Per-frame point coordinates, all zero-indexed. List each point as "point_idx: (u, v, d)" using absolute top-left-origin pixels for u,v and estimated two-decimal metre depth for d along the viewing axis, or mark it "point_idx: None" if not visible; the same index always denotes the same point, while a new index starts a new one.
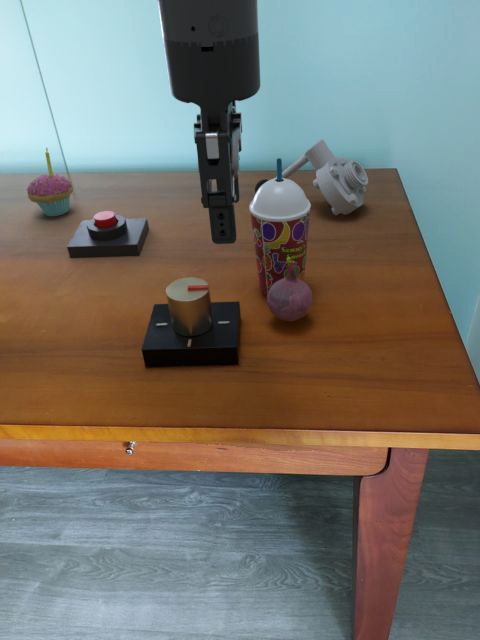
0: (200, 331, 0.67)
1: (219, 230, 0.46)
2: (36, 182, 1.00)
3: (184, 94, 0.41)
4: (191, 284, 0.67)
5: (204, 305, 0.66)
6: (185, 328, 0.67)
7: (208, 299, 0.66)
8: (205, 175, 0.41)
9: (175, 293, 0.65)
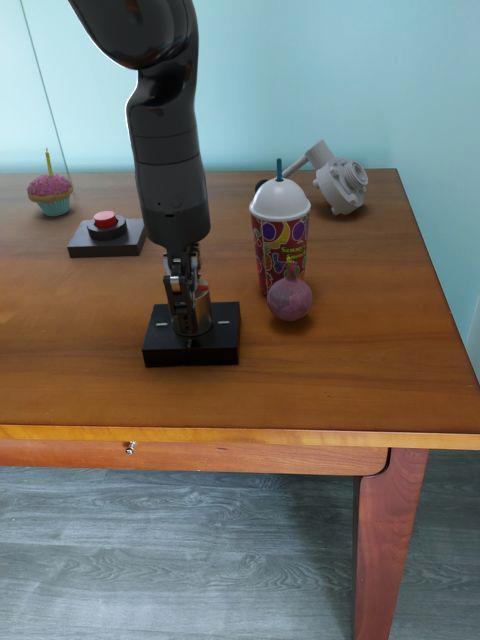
0: (200, 331, 0.67)
1: (185, 326, 0.65)
2: (36, 182, 1.00)
3: (155, 240, 0.58)
4: None
5: (204, 305, 0.66)
6: None
7: (208, 299, 0.66)
8: (172, 300, 0.59)
9: None
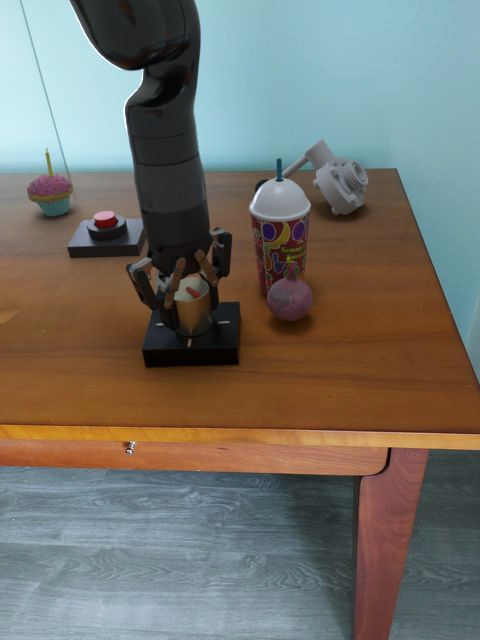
0: (181, 332, 0.67)
1: (162, 319, 0.66)
2: (36, 182, 1.00)
3: None
4: (195, 287, 0.66)
5: (186, 311, 0.65)
6: None
7: (194, 307, 0.65)
8: (136, 288, 0.62)
9: None
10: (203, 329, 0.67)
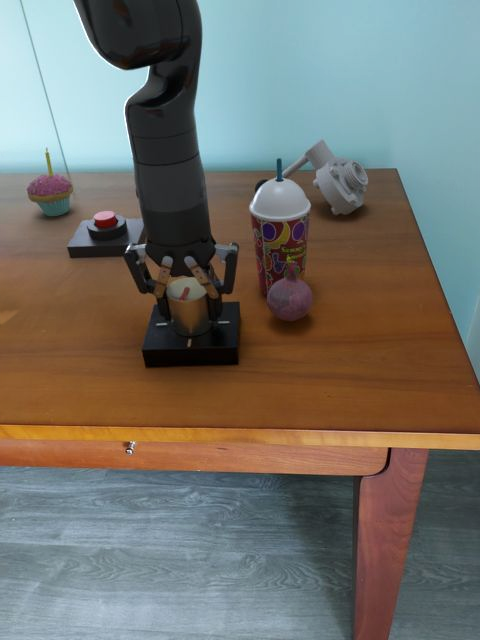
0: (172, 325, 0.68)
1: None
2: (36, 182, 1.00)
3: None
4: (194, 290, 0.65)
5: (171, 307, 0.65)
6: None
7: (177, 308, 0.65)
8: None
9: (182, 282, 0.67)
10: (186, 332, 0.67)
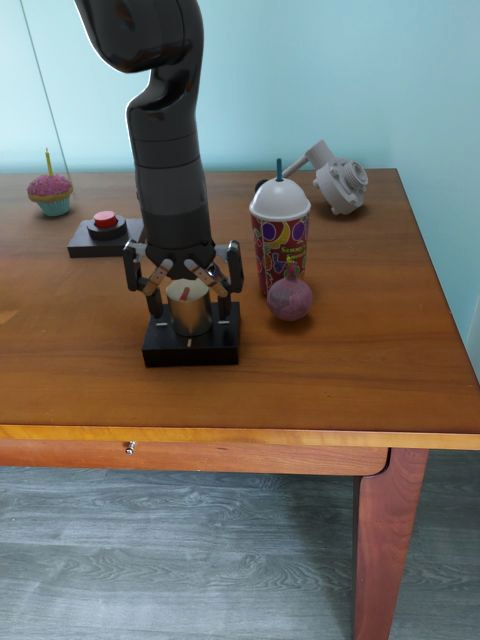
0: (172, 325, 0.68)
1: None
2: (36, 182, 1.00)
3: None
4: (194, 290, 0.65)
5: (171, 307, 0.65)
6: None
7: (177, 308, 0.65)
8: None
9: (182, 282, 0.67)
10: (187, 332, 0.67)
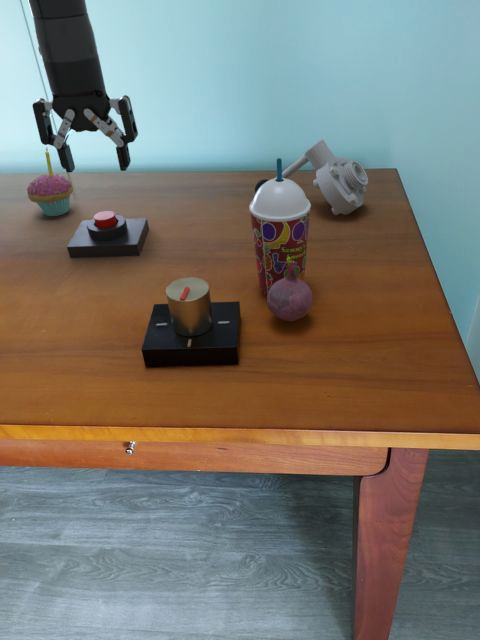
0: (172, 325, 0.68)
1: None
2: (36, 182, 1.00)
3: None
4: (194, 290, 0.65)
5: (171, 307, 0.65)
6: None
7: (177, 308, 0.65)
8: None
9: (182, 282, 0.67)
10: (187, 332, 0.67)
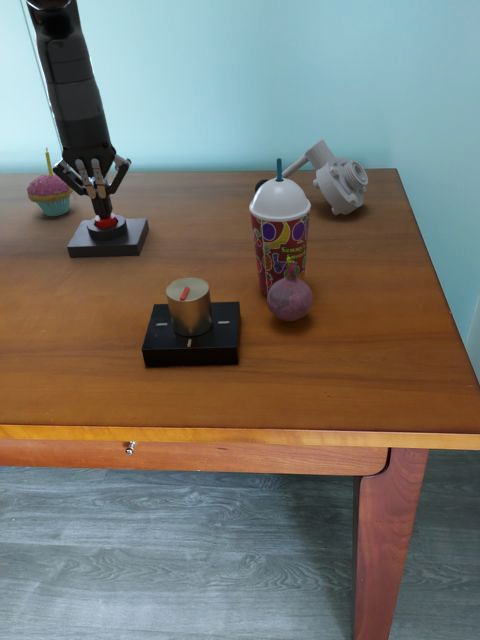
0: (172, 325, 0.68)
1: None
2: (36, 182, 1.00)
3: None
4: (194, 290, 0.65)
5: (171, 307, 0.65)
6: None
7: (177, 308, 0.65)
8: None
9: (182, 282, 0.67)
10: (187, 332, 0.67)
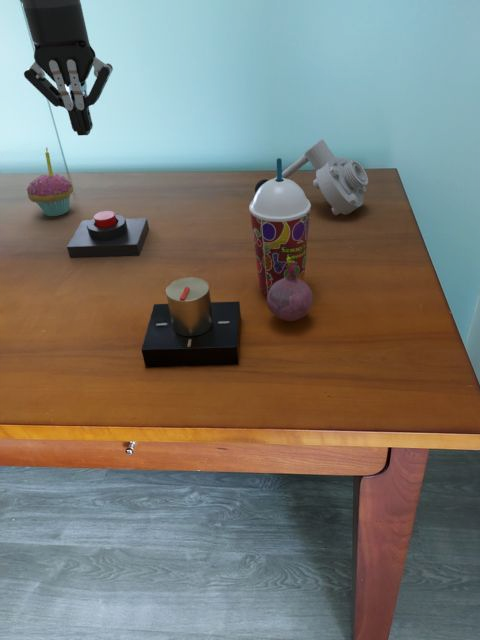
0: (172, 325, 0.68)
1: None
2: (36, 182, 1.00)
3: None
4: (194, 290, 0.65)
5: (171, 307, 0.65)
6: None
7: (177, 308, 0.65)
8: None
9: (182, 282, 0.67)
10: (187, 332, 0.67)
